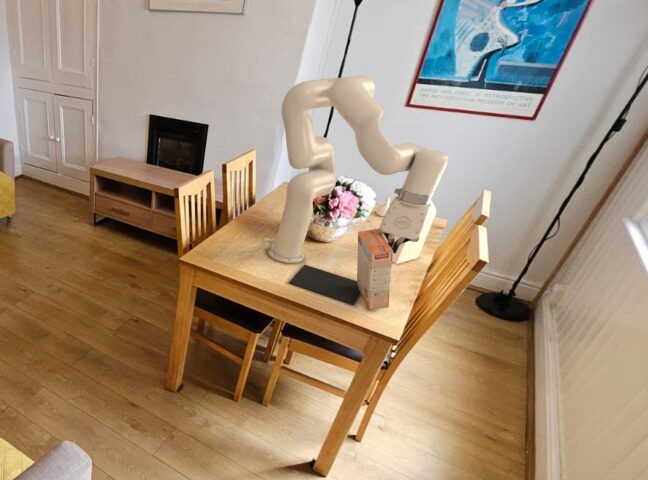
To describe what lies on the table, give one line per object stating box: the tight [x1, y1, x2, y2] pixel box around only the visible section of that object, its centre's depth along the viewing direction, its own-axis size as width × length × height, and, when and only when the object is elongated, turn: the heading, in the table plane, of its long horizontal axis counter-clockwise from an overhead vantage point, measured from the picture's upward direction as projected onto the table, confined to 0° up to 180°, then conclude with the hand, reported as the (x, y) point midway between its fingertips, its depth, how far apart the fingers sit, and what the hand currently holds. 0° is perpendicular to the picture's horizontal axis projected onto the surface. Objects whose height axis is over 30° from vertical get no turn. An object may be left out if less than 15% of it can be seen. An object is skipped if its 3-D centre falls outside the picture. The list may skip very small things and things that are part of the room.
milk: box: [382, 199, 437, 265], centre depth 163 cm, size 12×12×26 cm
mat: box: [288, 264, 361, 307], centre depth 152 cm, size 20×16×1 cm
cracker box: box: [356, 228, 393, 310], centre depth 139 cm, size 14×6×21 cm, turn 168°
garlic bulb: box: [375, 196, 391, 218], centre depth 198 cm, size 6×6×8 cm
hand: (389, 253), depth 136 cm, fingers closed
